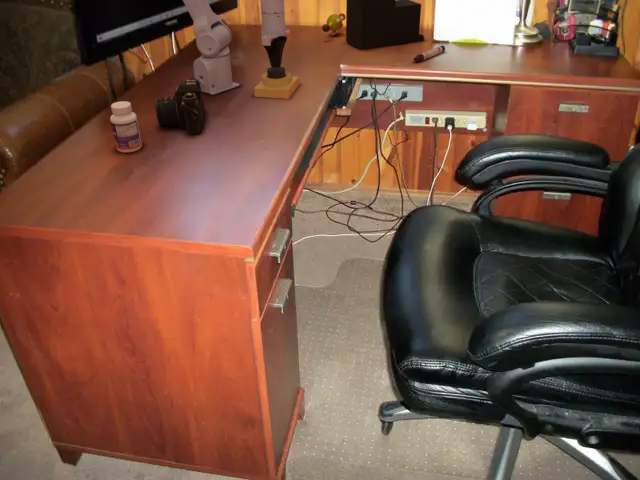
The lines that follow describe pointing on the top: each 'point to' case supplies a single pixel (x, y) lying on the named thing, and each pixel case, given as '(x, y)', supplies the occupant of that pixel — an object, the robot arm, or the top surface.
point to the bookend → (382, 22)
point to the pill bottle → (125, 127)
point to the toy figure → (334, 23)
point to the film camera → (182, 107)
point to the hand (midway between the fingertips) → (276, 66)
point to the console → (276, 86)
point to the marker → (429, 53)
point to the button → (276, 72)
